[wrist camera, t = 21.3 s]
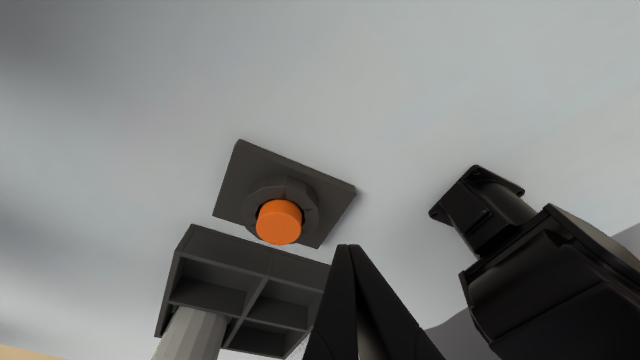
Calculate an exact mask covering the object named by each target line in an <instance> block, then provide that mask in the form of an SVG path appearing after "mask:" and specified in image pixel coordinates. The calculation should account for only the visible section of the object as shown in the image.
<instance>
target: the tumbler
mask: <svg viewBox="0 0 640 360" xmlns="http://www.w3.org/2000/svg"><path fill="white" fill-rule="evenodd" d="M229 317H230V316H225V315H220V314H216V313H211V312H206V311H201V310H197V309H192V308H187V307H183V306H177V308H176V310H175V312H174V314H173V316H172V318H171V320H170V322H169V324H168V326H167V329H166V331H165V333H164V335H163V337H162V339H161V341H160V343H159V345H158V347H157V349H156V351H155V353H154V355H153V357H152V359H151V360H217V358H218V355H219V352H220V348H221V345H222V341H223V338H224V334H225V331H226V327H227V324H228V321H229Z"/></svg>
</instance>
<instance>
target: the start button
mask: <svg viewBox="0 0 640 360" xmlns="http://www.w3.org/2000/svg"><path fill="white" fill-rule="evenodd" d="M301 222H302V214H301V211H300V209H299V208H298V206H297V205H295V204H294V203H292V202H291V201H288V200H284V199H275V200H271V201H269V202H267V203H265V204H264V205H263V206H262V208H261V210H260V213H259V216H258V220H257V223H256V231H257V234H258V235H259V237H260V238H261V239H263V240H264V241H266V242H268V243H270V244H274V245H286V244H289V243H292V242H294V241H295V240H296V239H297V238H298V237H299V235H300V233H301Z"/></svg>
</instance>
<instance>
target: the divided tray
mask: <svg viewBox="0 0 640 360" xmlns="http://www.w3.org/2000/svg"><path fill="white" fill-rule="evenodd" d="M330 268H331V266H330V265H327V264H323V263H320V262H317V261H313V260H310V259H307V258H303V257H300V256H297V255H293V254H290V253H287V252H283V251H280V250H277V249H274V248H270V247H267V246H264V245H260V244H257V243H254V242H250V241H247V240H244V239H240V238H237V237H234V236H230V235H227V234H224V233H220V232H217V231H214V230H210V229H207V228H204V227H201V226H197V225H194V224H191V225H190V227H189V228H188V230H187V232H186V233H185V235H184V236H183V238H182V240H181V241H180V243H179V244H178V246H177V248H176V249H175V251H174V256H173V260H172V264H171V268H170V272H169V276H168V280H167V285H166V289H165V293H164V297H163V301H162V305H161V310H160V314H159V318H158V322H157V326H156V330H155V335H154V337H158V338H162V337H163V335H164V333H165V331H166V329H167V326H168V324H169V322H170V320H171V318H172V316H173V314H174V312H175V310H176V308H177V306H183V307H187V308H192V309H197V310H201V311H206V312H211V313H216V314H220V315H225V316H230V317H229V321H228V324H227V327H226V331H225V334H224V338H223V341H222V345H221V348H220V349H227V350H232V351H238V352H243V353H249V354H255V355H260V356H266V357H272V358H278V359H283V360H285V359H286V358H287V357H288V356H289V355H290V354H291V353H292V352H293V350H294V349H295V348H296V347H297V346H298V345H299V344H300V343H301V342H302V341H303V340H304V339H305V338H306V337H307V336H308V335H309V333H310V332H311V331H312V328H313V325H314V321H315V318H316V315H317V311H318V308H319V305H320V301H321V298H322V295H323V291H324V288H325V285H326V281H327V278H328V275H329V271H330Z"/></svg>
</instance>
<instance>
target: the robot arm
mask: <svg viewBox="0 0 640 360" xmlns="http://www.w3.org/2000/svg"><path fill="white" fill-rule="evenodd" d="M475 170H477V171H476V172H475ZM524 193H525V190H524V189H522V188H521V187H520V186H518V185H516V184H514V183H512V182H510V181H508V180H506V179H504V178H502V177H500V176H498V175H496V174H495V173H493V172H491V171H489V170H487V169H485V168H483V167H481V166H479V165H474V166H472V167H471V168H470V169H469V170H468V171H467V172H466V173H465V174H464V175H463V176H462V177H461V178H460V179H459V180H458V181H457V182H456V183H455V184H454V185H453V186H452V187H451V189H450V190H449V191H448V192H447V193H446V194H445V195H444V196H443V197H442V198H441V199H440V200H439V201H438V202H437V203H436V204H435V205H434V206H433V207H432V208H431V210H430V211H429V212H428V214H429V216H430V217H431V218H432V219H435V220H437V221H440V222H442V223H445V224H447V225H449V226H452V227H454V228H455V229H456V230H457V232H458V233H459V235H460V236H461V238H462V239H463V240H464V242H465V243H466V245H467V246H468V247H469V249H470V250H471V252H472V253H473V254H474V256H475V257H476V259H477V260H478V261H477V262H475V263H474V264H473V265H471V266H470V267H469V268H468V269H466V270H465V271H464V270H463V271H462V272H461V273H459V274H458V275H459V279H460V282H461V285H462V288H463V292H464V295H465V298H466V301H467V305H468V308H469V311H470V314H471V317H472V319H473V322H474V325H475V327H476V329H477V330H478V331H479V332H480V334H481V335H482V337H483V338H484V339H485V340H486V341H487V343H488V344H489V347H490V348H491V350H492V351H493V352H495V353H496V354H497V355H498V356H499V357H500V358H501V359H502V360H640V261H639V260H638V259H637V258H636V257H635V256H634V255H633V254H632V253H631V252H630V251H628V250H627V249H626V248H625V247H623V246H622V245H621V244H619V243H618V242H616V241H615V240H613V239H612V238H610V237H609V236H607V235H606V234H604V233H603V232H601V231H600V230H598V229H597V228H595V227H594V226H592V225H591V224H589V223H588V222H586V221H584V220H582V219H580V218H578V217H576V216H574V215H572V214H570V213H568V212H566V211H564V210H562V209H561V208H559V207H557V206H555V205H553V204H551V203H548V204H547V205H546V206H544V207H543V210H542V211H540V212H539V213H537V212H536V211H535V210H534V209H532V208H531V207H530V206H529V205H528V204H526V203H525V202H524V201H523V200H521V199H520V197H521V196H523V195H524ZM434 213H435V214H434ZM358 353H359V358H358ZM359 359H360V360H446V359H445V358H444V357H443V356H442V354H441V353H440V352H439V350H438V349H437V348H436V347H435V345H434V344H433V343H432V341H431V340H430V339H429V337H428V336H427V335H426V333H425V332H424V331H423V329H422V328H421V327H419V324H418V323H417V321H416V320H415V319H414V317H413V316H412V315H411V313H410V312H409V311H408V309H407V308H406V307H405V305H404V304H403V303H402V301H401V300H400V299H399V297H398V296H397V295H396V293H395V292H394V291H393V289H392V288H391V287H390V285H389V284H388V283H387V281H386V280H385V279H384V277H383V276H382V275H381V273H380V272H379V271H378V269H377V268H376V267H375V265H374V264H373V263H372V261H371V260H370V259H369V257H368V256H367V255H366V253H365V252H364V251H363V249H362V248H361V246H360V245H357V244H350V245H347V244H338V245H337V248H336V251H335V255H334V258H333V261H332V265H331V268H330V271H329V275H328V278H327V281H326V285H325V288H324V291H323V295H322V298H321V301H320V305H319V308H318V311H317V315H316V318H315V321H314V325H313V328H312V331H311V334H310V337H309V341H308V344H307V347H306V350H305V353H304V356H303V359H302V360H359Z"/></svg>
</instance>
